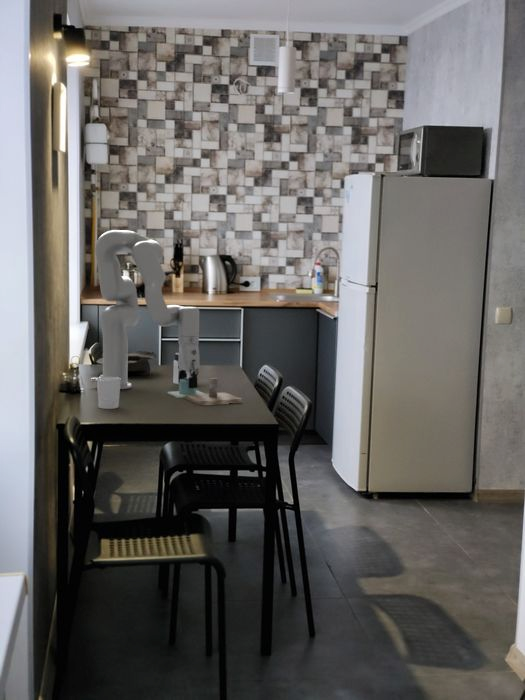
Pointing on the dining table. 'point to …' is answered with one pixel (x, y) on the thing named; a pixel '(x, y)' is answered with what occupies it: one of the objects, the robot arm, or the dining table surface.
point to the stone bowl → (138, 362)
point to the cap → (186, 387)
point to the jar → (175, 370)
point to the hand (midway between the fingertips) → (187, 385)
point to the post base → (212, 400)
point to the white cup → (108, 392)
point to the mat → (178, 395)
